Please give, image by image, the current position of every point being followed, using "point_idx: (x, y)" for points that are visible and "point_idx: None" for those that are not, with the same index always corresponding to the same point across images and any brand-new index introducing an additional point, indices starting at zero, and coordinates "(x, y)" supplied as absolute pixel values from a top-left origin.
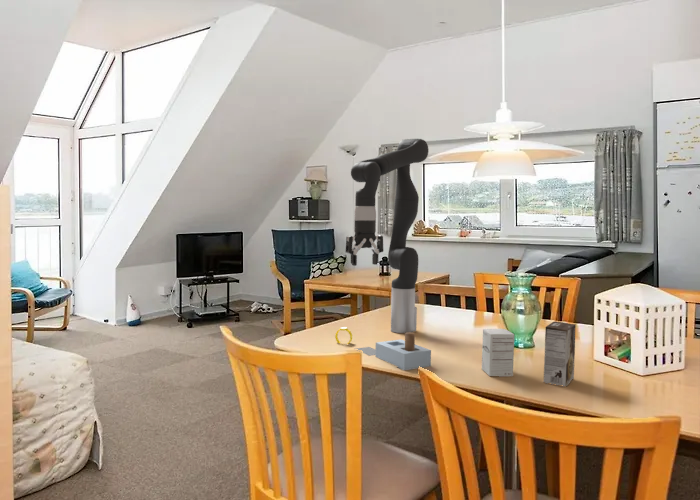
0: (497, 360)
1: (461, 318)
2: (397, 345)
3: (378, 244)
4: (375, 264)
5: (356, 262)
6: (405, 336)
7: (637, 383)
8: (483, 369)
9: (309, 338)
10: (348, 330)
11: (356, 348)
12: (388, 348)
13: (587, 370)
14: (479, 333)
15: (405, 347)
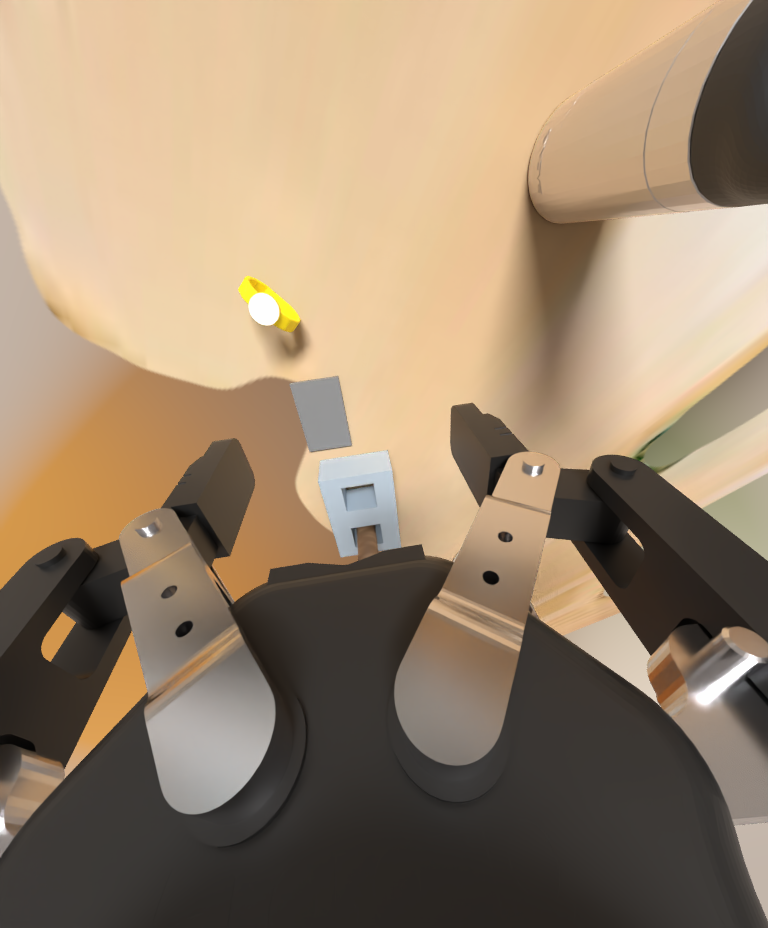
0: None
1: None
2: (356, 511)
3: (645, 579)
4: (452, 446)
5: (247, 501)
6: (358, 557)
7: (567, 609)
8: (454, 559)
9: (138, 132)
10: (282, 323)
11: (297, 383)
12: (329, 519)
13: (576, 575)
14: (725, 319)
15: (357, 540)
